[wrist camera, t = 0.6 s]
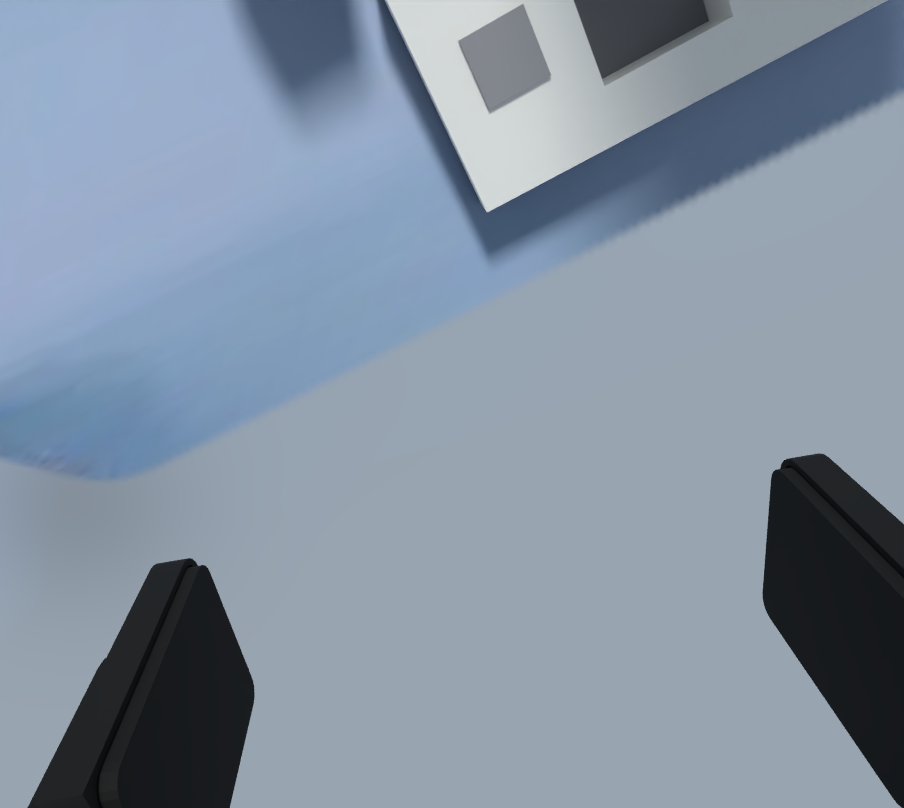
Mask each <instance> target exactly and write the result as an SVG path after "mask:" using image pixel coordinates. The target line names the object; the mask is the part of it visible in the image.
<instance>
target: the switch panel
mask: <svg viewBox="0 0 904 808" xmlns="http://www.w3.org/2000/svg"><path fill="white" fill-rule="evenodd" d="M384 1H385V3H386V5H387V7H388V9H389V11H390V14H391V16H392V18H393V20H394V22H395V24H396V26H397V28H398V30H399V33H400V35H401V37H402V39H403V41H404V43H405V45H406V47H407V49H408V51H409V54H410V56H411V58H412V60H413V62H414V64H415V66H416V68H417V70H418V73H419V75H420V77H421V79H422V81H423V83H424V85H425V87H426V89H427V91H428V94H429V96H430V98H431V100H432V102H433V104H434V106H435V108H436V110H437V113H438V115H439V117H440V119H441V121H442V123H443V125H444V127H445V129H446V132H447V134H448V136H449V138H450V140H451V142H452V144H453V146H454V148H455V150H456V153H457V155H458V157H459V159H460V161H461V163H462V165H463V167H464V169H465V172H466V174H467V176H468V178H469V180H470V182H471V184H472V186H473V188H474V190H475V193H476V195H477V197H478V199H479V201H480V203H481V204H482V206H483V207H484V209H485V210H486V212H489V211H491V210H493V209H495V208H497V207H499V206H500V205H502V204H504V203H506V202H508V201H510V200H512V199H514V198H516V197H517V196H519V195H521V194H523V193H525V192H527V191H529V190H531V189H533V188H534V187H536V186H538V185H540V184H542V183H544V182H546V181H548V180H550V179H551V178H553V177H555V176H557V175H559V174H561V173H563V172H565V171H567V170H568V169H570V168H572V167H574V166H576V165H578V164H580V163H582V162H584V161H585V160H587V159H589V158H591V157H593V156H595V155H597V154H599V153H601V152H602V151H604V150H606V149H608V148H610V147H612V146H614V145H616V144H618V143H619V142H621V141H623V140H625V139H627V138H629V137H631V136H633V135H635V134H636V133H638V132H640V131H642V130H644V129H646V128H648V127H650V126H652V125H653V124H655V123H657V122H659V121H661V120H663V119H665V118H667V117H669V116H670V115H672V114H674V113H676V112H678V111H680V110H682V109H684V108H686V107H687V106H689V105H691V104H693V103H695V102H697V101H699V100H701V99H703V98H704V97H706V96H708V95H710V94H712V93H714V92H716V91H718V90H720V89H721V88H723V87H725V86H727V85H729V84H731V83H733V82H735V81H737V80H738V79H740V78H742V77H744V76H746V75H748V74H750V73H752V72H754V71H755V70H757V69H759V68H761V67H763V66H765V65H767V64H769V63H771V62H772V61H774V60H776V59H778V58H780V57H782V56H784V55H786V54H788V53H789V52H791V51H793V50H795V49H797V48H799V47H801V46H803V45H805V44H806V43H808V42H810V41H812V40H814V39H816V38H818V37H820V36H822V35H823V34H825V33H827V32H829V31H831V30H833V29H835V28H837V27H839V26H840V25H842V24H844V23H846V22H848V21H850V20H852V19H854V18H855V17H857V16H859V15H861V14H863V13H865V12H867V11H869V10H871V9H872V8H874V7H876V6H878V5H880V4H882V3H884V2H886V1H888V0H384Z"/></svg>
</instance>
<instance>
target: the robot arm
mask: <svg viewBox="0 0 904 808" xmlns="http://www.w3.org/2000/svg"><path fill="white" fill-rule="evenodd" d="M763 602H764V606H765V609H766V611H767V613H768V615H769V617H770V619H771V620H772V622H773V623H774V625H775V626H776V628H777V629H778V630H779V632H780V634H781V635H782V636H783V638H784V639H785V641H786V642H787V644H788V645H789V647H790V648H791V650H792V651H793V653H794V654H795V655H796V657H797V658H798V660H799V661H800V663H801V664H802V666H803V667H804V669H805V670H806V671H807V673H808V674H809V676H810V677H811V679H812V680H813V682H814V683H815V685H816V686H817V687H818V689H819V691H820V692H821V694H822V695H823V696H824V698H825V699H826V701H827V702H828V704H829V705H830V707H831V708H832V709H833V711H834V713H835V714H836V716H837V717H838V718H839V720H840V721H841V723H842V724H843V726H844V727H845V729H846V730H847V732H848V733H849V734H850V736H851V737H852V739H853V740H854V742H855V743H856V745H857V746H858V748H859V749H860V751H861V752H862V754H863V755H864V757H865V758H866V759H867V761H868V762H869V764H870V765H871V767H872V768H873V770H874V771H875V773H876V774H877V775H878V777H879V778H880V780H881V781H882V783H883V784H884V786H885V787H886V789H887V790H888V791H889V793H890V794H891V796H892V797H893V799H894V800H895V801H896V803H897V804H898V805H900V806H901V807H902V808H904V524H903V523H902V522H901V521H899V520H898V519H897V518H896V517H895V516H894V515H893V514H891V513H890V512H889V511H888V510H887V509H886V508H885V507H884V506H883V505H881V504H880V503H879V502H878V501H877V500H876V499H875V498H874V497H872V496H871V495H870V494H869V493H868V492H867V491H866V490H865V489H863V488H862V487H861V486H860V485H859V484H858V483H857V482H856V481H855V480H853V479H852V478H851V477H850V476H849V475H848V474H847V473H846V472H844V471H843V470H842V469H841V468H840V467H839V466H838V465H836V464H835V463H834V462H833V461H832V460H831V459H830V458H829V457H827V456H826V455H824V454H814V455H808V456H802V457H796V458H790V459H786V460H784V461H783V463H782V464H781V468H780V469H778V470H775V471H774V472H773V474H772V478H771V489H770V502H769V516H768V529H767V542H766V555H765V569H764V582H763ZM253 703H254V684H253V680H252V677H251V675H250V672H249V669H248V667H247V664H246V662H245V659H244V657H243V655H242V652H241V649H240V647H239V644H238V642H237V639H236V637H235V634H234V632H233V629H232V627H231V624H230V622H229V619H228V617H227V614H226V612H225V609H224V607H223V604H222V602H221V599H220V597H219V594H218V592H217V589H216V587H215V584H214V582H213V579H212V577H211V574H210V572H209V570H208V568H207V567H206V566H204V565H201V566H198V565H197V563H196V562H195V561H194V560H193V559H190V558H189V559H182V560H177V561H170V562H165V563H159V564H156V565H154V566H153V567H152V568H151V570H150V572H149V574H148V576H147V578H146V580H145V582H144V584H143V586H142V588H141V590H140V592H139V594H138V596H137V598H136V600H135V602H134V604H133V606H132V608H131V610H130V612H129V614H128V616H127V618H126V620H125V622H124V624H123V626H122V628H121V630H120V632H119V634H118V636H117V638H116V640H115V642H114V644H113V646H112V648H111V650H110V652H109V654H108V656H107V658H105V659H104V660H103V662H102V663H101V665H100V666H99V668H98V669H97V671H96V673H95V675H94V677H93V679H92V681H91V683H90V685H89V687H88V689H87V691H86V693H85V695H84V697H83V699H82V701H81V703H80V705H79V707H78V709H77V711H76V713H75V715H74V717H73V719H72V721H71V723H70V725H69V727H68V729H67V731H66V733H65V735H64V737H63V739H62V741H61V743H60V745H59V747H58V749H57V751H56V753H55V755H54V757H53V759H52V760H51V762H50V764H49V766H48V769H47V770H46V772H45V774H44V777H43V778H42V781H41V782H40V784H39V786H38V788H37V791H36V792H35V794H34V796H33V798H32V800H31V802H30V804H29V806H28V808H230V803H231V799H232V795H233V791H234V786H235V782H236V778H237V773H238V769H239V765H240V760H241V756H242V751H243V747H244V743H245V738H246V734H247V730H248V725H249V721H250V717H251V712H252V708H253Z"/></svg>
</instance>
